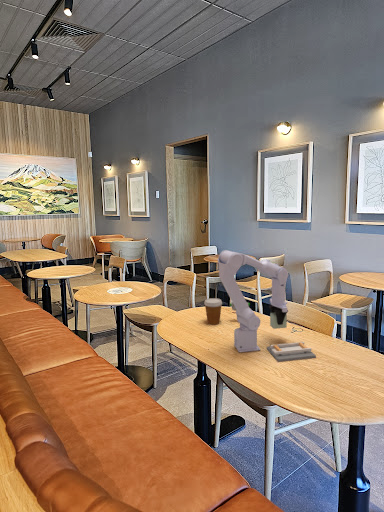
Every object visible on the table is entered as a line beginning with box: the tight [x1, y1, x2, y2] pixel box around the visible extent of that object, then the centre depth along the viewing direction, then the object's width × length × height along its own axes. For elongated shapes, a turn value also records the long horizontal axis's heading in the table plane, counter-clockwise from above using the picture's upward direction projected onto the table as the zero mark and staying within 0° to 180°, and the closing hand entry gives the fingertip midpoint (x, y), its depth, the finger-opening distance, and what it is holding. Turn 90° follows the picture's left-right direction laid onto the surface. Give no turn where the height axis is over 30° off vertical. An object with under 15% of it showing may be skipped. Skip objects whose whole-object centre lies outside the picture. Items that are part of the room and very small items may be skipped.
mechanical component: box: [229, 301, 251, 312], centre depth 176 cm, size 3×10×10 cm, turn 89°
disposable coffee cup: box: [203, 297, 223, 326], centre depth 175 cm, size 10×10×12 cm
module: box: [269, 312, 288, 330], centre depth 149 cm, size 6×4×6 cm, turn 99°
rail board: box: [265, 341, 317, 363], centre depth 138 cm, size 16×12×3 cm
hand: (278, 322), depth 149 cm, fingers closed on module, 4 cm apart
